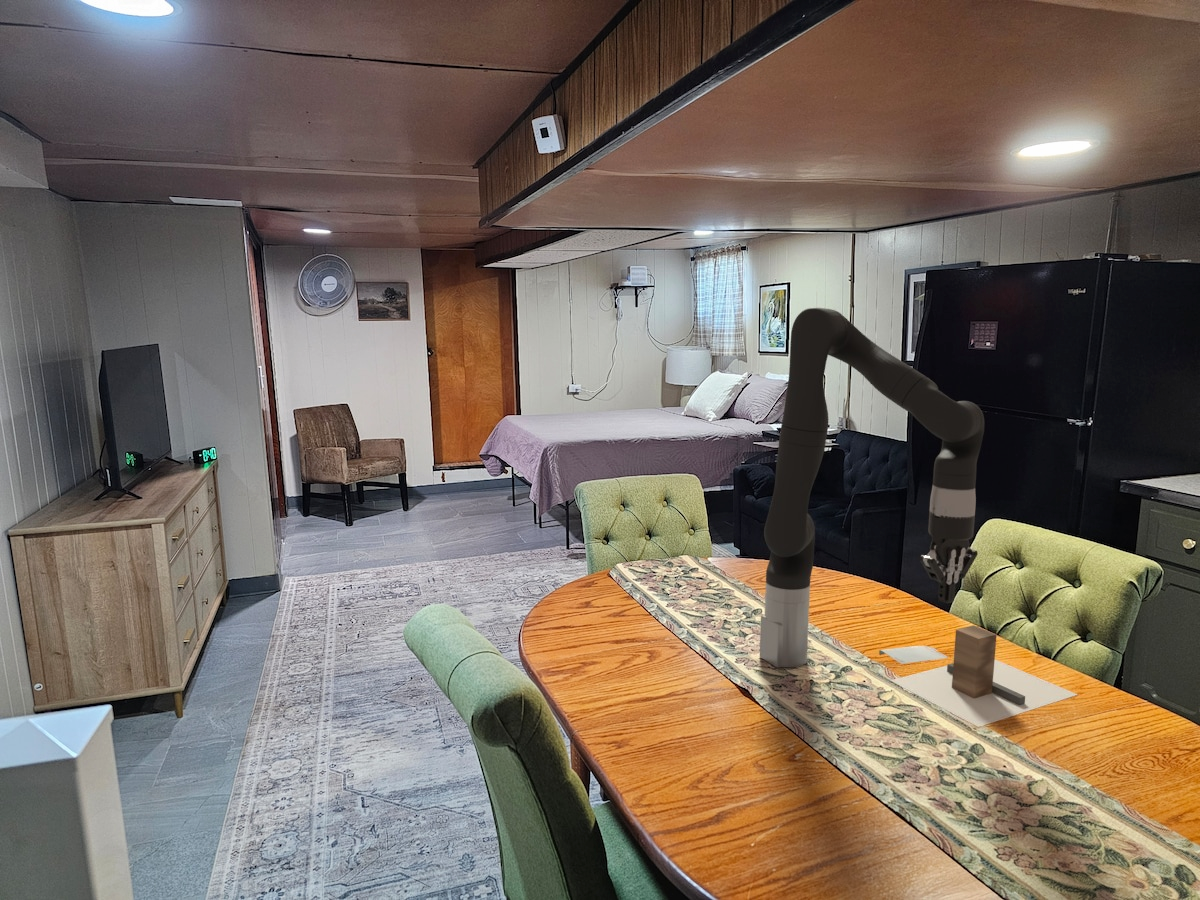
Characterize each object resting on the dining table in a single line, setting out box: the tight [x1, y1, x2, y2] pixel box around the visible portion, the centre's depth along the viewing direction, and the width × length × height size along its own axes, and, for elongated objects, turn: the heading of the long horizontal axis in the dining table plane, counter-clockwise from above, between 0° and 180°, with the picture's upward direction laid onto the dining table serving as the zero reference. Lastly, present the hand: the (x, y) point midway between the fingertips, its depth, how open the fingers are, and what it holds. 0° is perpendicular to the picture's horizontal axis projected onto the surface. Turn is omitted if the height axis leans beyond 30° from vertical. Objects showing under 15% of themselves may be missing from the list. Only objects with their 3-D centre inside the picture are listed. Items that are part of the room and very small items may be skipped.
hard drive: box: [878, 645, 948, 665], centre depth 162 cm, size 2×8×12 cm
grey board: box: [890, 659, 1078, 728], centre depth 146 cm, size 28×20×2 cm
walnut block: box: [952, 625, 998, 699], centre depth 144 cm, size 5×5×12 cm
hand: (945, 601), depth 138 cm, fingers closed
